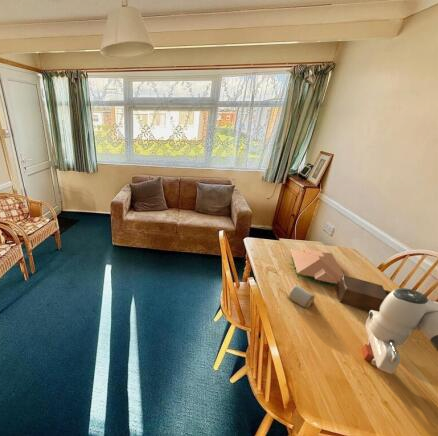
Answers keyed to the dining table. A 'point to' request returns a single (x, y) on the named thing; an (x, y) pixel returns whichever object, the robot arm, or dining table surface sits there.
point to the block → (367, 352)
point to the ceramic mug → (301, 296)
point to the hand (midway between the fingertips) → (371, 356)
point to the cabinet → (360, 293)
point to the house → (317, 266)
